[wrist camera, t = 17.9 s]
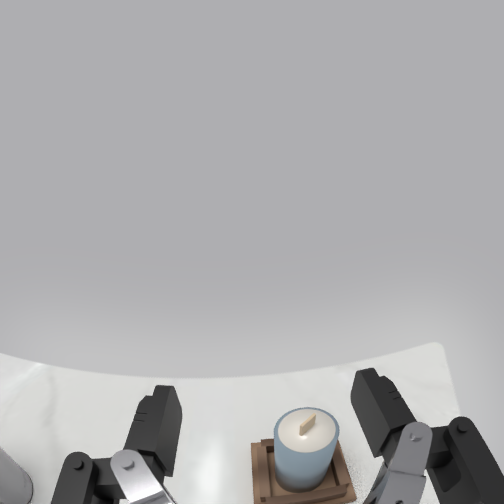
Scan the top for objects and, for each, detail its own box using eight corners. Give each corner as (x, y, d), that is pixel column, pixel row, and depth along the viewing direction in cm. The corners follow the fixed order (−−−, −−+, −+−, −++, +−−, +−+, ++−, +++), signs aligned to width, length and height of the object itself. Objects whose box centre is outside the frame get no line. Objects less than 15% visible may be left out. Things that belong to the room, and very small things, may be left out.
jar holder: (354, 500, 20) (360, 493, 19) (255, 517, 19) (253, 511, 18) (334, 435, 31) (337, 424, 30) (251, 446, 31) (249, 435, 30)
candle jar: (302, 501, 20) (312, 458, 17) (264, 475, 25) (259, 422, 21) (335, 469, 24) (355, 413, 21) (298, 447, 29) (304, 387, 25)
